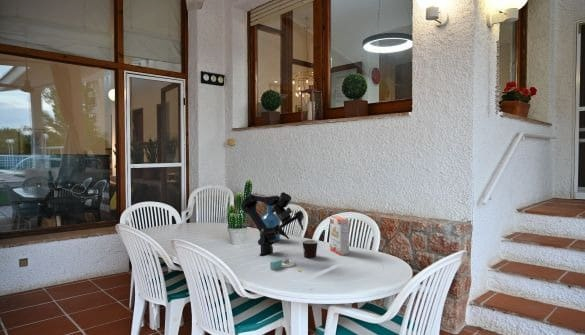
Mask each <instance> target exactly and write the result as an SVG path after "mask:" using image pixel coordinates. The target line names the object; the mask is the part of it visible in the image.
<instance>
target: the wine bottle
mask: <svg viewBox="0 0 585 335" xmlns="http://www.w3.org/2000/svg"><path fill="white" fill-rule="evenodd" d="M273 207H274V206H268V205H267V208H266V209H267V212H266V214H265V215H263V216H262V217H261V219H262V220H263V222H264V223H265V225H266V227H267V228H272V227H273V226H275V225H277V224H278V225H281V221H280V219H279V218H278V216H277V215H276V213H275V212H274V213H272V208H273ZM280 240H281V235H280V234H279V235H278V234H277V235H276V239H275V242H279V241H280Z"/></svg>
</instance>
